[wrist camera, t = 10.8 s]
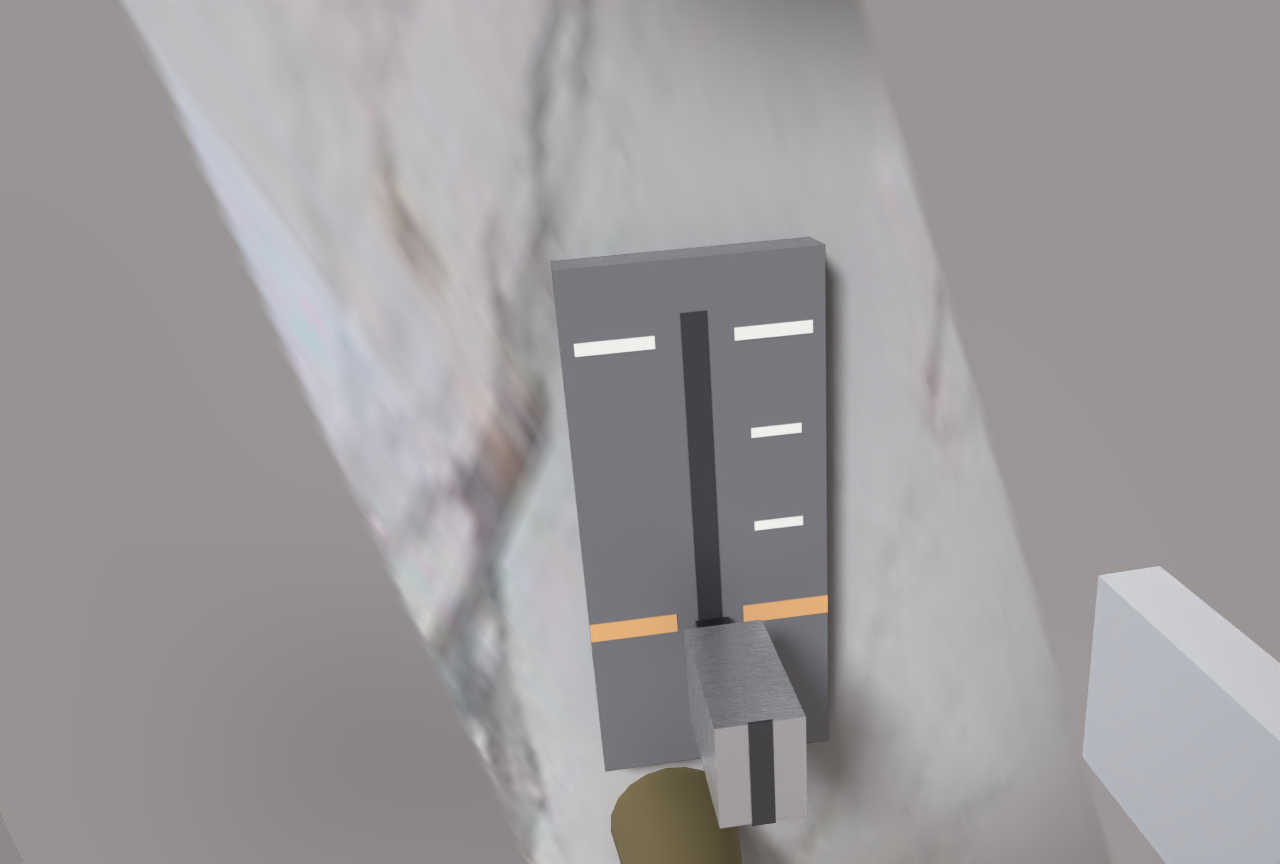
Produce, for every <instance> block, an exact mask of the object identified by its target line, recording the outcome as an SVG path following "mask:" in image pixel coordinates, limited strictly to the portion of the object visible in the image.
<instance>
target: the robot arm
mask: <svg viewBox="0 0 1280 864" xmlns="http://www.w3.org/2000/svg"><path fill="white" fill-rule="evenodd" d="M1082 757H1083V759H1084V760H1085V761H1086V763H1087V764H1088V765H1089V766H1090V768H1091V769H1092V770H1093V771H1094V773H1095V774H1096V775H1097V777H1098V778H1099V779H1100V780H1101V782H1102V783H1103V784H1104V785H1105V787H1106V788H1107V789H1108V790H1109V792H1110V793H1111V794H1112V796H1113V797H1114V798H1115V799H1116V800H1117V802H1118V803H1119V804H1120V806H1121V807H1122V808H1123V809H1124V811H1125V812H1126V813H1127V814H1128V816H1129V817H1130V818H1131V820H1132V821H1133V822H1134V824H1135V825H1136V826H1137V827H1138V828H1139V830H1140V831H1141V832H1142V834H1143V835H1144V836H1145V838H1146V839H1147V840H1148V841H1149V843H1150V844H1151V845H1152V846H1153V848H1154V849H1155V850H1156V851H1157V853H1158V854H1159V855H1160V856H1161V858H1162V859H1163V860H1164V862H1165V863H1166V864H1280V663H1279V662H1278V661H1277V660H1275V659H1274V658H1273V657H1272V656H1270V655H1269V654H1268V653H1267V652H1265V651H1264V650H1263V649H1262V648H1260V647H1259V646H1258V645H1257V644H1255V643H1254V642H1253V641H1252V640H1251V639H1249V638H1248V637H1247V636H1246V635H1244V634H1243V633H1242V632H1241V631H1239V630H1238V629H1237V628H1236V627H1234V626H1233V625H1232V624H1231V623H1230V622H1228V621H1227V620H1226V619H1225V618H1223V617H1222V616H1221V615H1220V614H1218V613H1217V612H1216V611H1215V610H1214V609H1212V608H1211V607H1209V606H1208V605H1207V604H1206V603H1205V602H1204V601H1202V600H1201V599H1200V598H1198V597H1197V596H1196V595H1195V594H1193V593H1192V592H1191V591H1190V590H1189V589H1188V588H1186V587H1185V586H1184V585H1182V584H1181V583H1180V582H1179V581H1178V580H1176V579H1175V578H1174V577H1173V576H1172V575H1170V574H1169V573H1168V572H1167V571H1165V570H1164V569H1163V568H1162V567H1160V566H1157V567H1150V568H1144V569H1137V570H1131V571H1124V572H1118V573H1111V574H1105V575H1099V576H1098V587H1097V598H1096V609H1095V620H1094V632H1093V643H1092V654H1091V666H1090V676H1089V688H1088V698H1087V709H1086V721H1085V731H1084V743H1083V754H1082ZM0 864H24V862H23V860H22V858H21V856H20V854H19V852H18V850H17V848H16V846H15V844H14V841H13V839H12V837H11V835H10V833H9V831H8V829H7V827H6V825H5V823H4V821H3V818H2V817H1V814H0Z"/></svg>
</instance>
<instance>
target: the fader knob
mask: <svg viewBox="0 0 1280 864" xmlns="http://www.w3.org/2000/svg"><path fill="white" fill-rule="evenodd" d="M695 627H696V628H692V629H685V630H684V635H685V650H686V665H687V679H688V694H689V709H690V719H691V723H692V727H693V730H694V734H695V738H696V742H697V745H698V749H699V753H700V757H701V760H702V764H703V768H704V771H705V775H706V779H707V783H708V786H709V790H710V794H711V798H712V801H713V805H714V809H715V813H716V816H717V820H718V824H719V828H720V829H721V828H727V827H734V826H741V825H748V824H752V826H757V825H764V824H771V823H776V820H782V819H789V818H796V817H802V816H807V755H806V716H805V714H804V712H803V709H802V707H801V705H800V703H799V701H798V698H797V696H796V694H795V692H794V690H793V687H792V685H791V683H790V681H789V679H788V676H787V674H786V672H785V670H784V668H783V665H782V663H781V661H780V659H779V657H778V654H777V652H776V650H775V648H774V646H773V643H772V641H771V639H770V637H769V635H768V632H767V630H766V628H765V626H764V624H763V621H762V620H755V621H747V622H739V623H731V621H730V619H729V617H721V618H713V619H706V620H698V621H695Z"/></svg>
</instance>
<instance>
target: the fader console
mask: <svg viewBox="0 0 1280 864" xmlns="http://www.w3.org/2000/svg"><path fill="white" fill-rule="evenodd" d="M551 270H552V280H553V289H554V298H555V308H556V317H557V326H558V336H559V345H560V354H561V364H562V373H563V382H564V392H565V401H566V410H567V420H568V429H569V438H570V448H571V457H572V467H573V476H574V485H575V495H576V504H577V513H578V523H579V532H580V541H581V551H582V560H583V569H584V579H585V588H586V597H587V607H588V616H589V625H590V635H591V644H592V654H593V663H594V672H595V682H596V691H597V700H598V710H599V719H600V728H601V738H602V747H603V755H604V763H605V772H606V771H613V770H620V769H627V768H634V767H642V766H649V765H656V764H663V763H670V762H677V761H685V760H692V759H699V758H701V757H700V753H699V749H698V745H697V742H696V738H695V734H694V730H693V727H692V723H691V719H690V709H689V694H688V679H687V665H686V650H685V635H684V630H685V629H692V628H696V627H695V621H698V620H706V619H713V618H721V617H729V619H730V621H731V623H739V622H747V621H755V620H762V621H763V624H764V626H765V628H766V630H767V632H768V635H769V637H770V639H771V641H772V643H773V646H774V648H775V650H776V652H777V654H778V657H779V659H780V661H781V663H782V665H783V668H784V670H785V672H786V674H787V676H788V679H789V681H790V683H791V685H792V687H793V690H794V692H795V694H796V696H797V698H798V701H799V703H800V705H801V707H802V709H803V712H804V714H805V716H806V743H813V742H820V741H827V740H828V618H827V612H828V595H827V455H826V292H825V244H823V243H821V242H819V241H817V240H815V239H813V238H810V237H805V238H795V239H784V240H773V241H763V242H752V243H741V244H731V245H720V246H709V247H699V248H688V249H677V250H667V251H656V252H645V253H635V254H624V255H613V256H603V257H592V258H581V259H571V260H560V261H551Z"/></svg>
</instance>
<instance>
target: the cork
mask: <svg viewBox="0 0 1280 864" xmlns="http://www.w3.org/2000/svg"><path fill="white" fill-rule="evenodd" d="M611 832H612V836H613V839H614V842H615V846H616V849H617V852H618V856H619V859H620V862H621V864H742V861H741V853H740V844H739V835H738V827H737V826H734V827H727V828H721V829H720V828H719V824H718V820H717V816H716V813H715V809H714V805H713V801H712V798H711V794H710V790H709V786H708V783H707V779H706V775H705V771H701V770H696V769H691V768H687V767H682V768H666V769H663V770H659V771H656V772H653V773H650V774H647V775H645V776H644V777H642V778H641V779H639V780H638V781H636V782H634V783H633V784H631V785H630V786H629V787H628V788H627V789H626V791H625V792H624V793H623V794H622V795H621V796H620V797H619V799H618V800H617V803H616V805H615V808H614V810H613V813H612V815H611Z"/></svg>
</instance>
